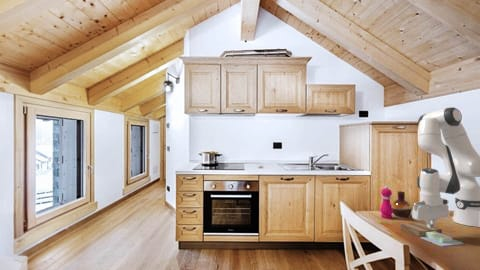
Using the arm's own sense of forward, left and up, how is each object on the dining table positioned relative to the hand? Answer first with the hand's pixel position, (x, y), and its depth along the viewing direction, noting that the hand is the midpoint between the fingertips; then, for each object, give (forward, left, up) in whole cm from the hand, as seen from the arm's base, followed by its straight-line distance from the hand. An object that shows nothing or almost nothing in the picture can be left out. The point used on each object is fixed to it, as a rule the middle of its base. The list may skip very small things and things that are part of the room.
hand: (430, 227), depth 140 cm
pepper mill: (-2, -33, -5) cm, 33 cm away
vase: (-14, -34, -5) cm, 37 cm away
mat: (0, +6, -5) cm, 8 cm away
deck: (0, -6, -5) cm, 8 cm away
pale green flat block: (0, +5, -4) cm, 6 cm away
